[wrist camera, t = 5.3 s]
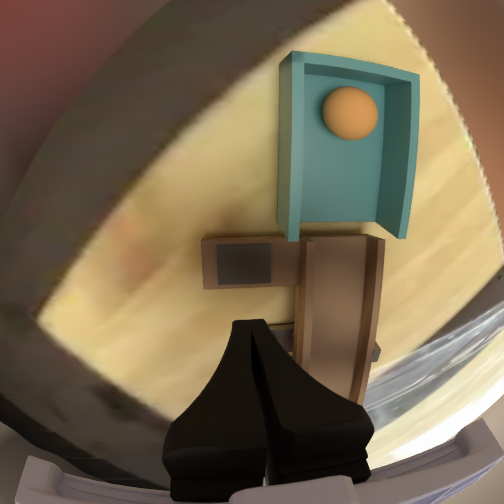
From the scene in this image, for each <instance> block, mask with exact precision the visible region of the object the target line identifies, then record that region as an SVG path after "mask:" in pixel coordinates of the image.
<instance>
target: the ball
mask: <svg viewBox="0 0 504 504" xmlns="http://www.w3.org/2000/svg"><path fill="white" fill-rule="evenodd" d="M322 114H323V119H324V122H325V124H326V126H327V127H328V129H329V130H330V131H331V132H332V133H333V134H335V135H336V136H338V137H340V138H342V139H345V140H359V139H362V138H364V137H366V136H368V135H369V134H370V133H371V132H372V131H373V130H374V128H375V126H376V124H377V120H378V111H377V107H376V104H375V102H374V100H373V99H372V98H371V96H370V95H369V94H368V93H366V92H365V91H363V90H361V89H359V88H357V87H352V86H344V87H340V88H337V89H335V90H333V91H332V92H331V93H330V94H329V95H328V96H327V97H326V99H325V101H324V104H323V109H322Z"/></svg>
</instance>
